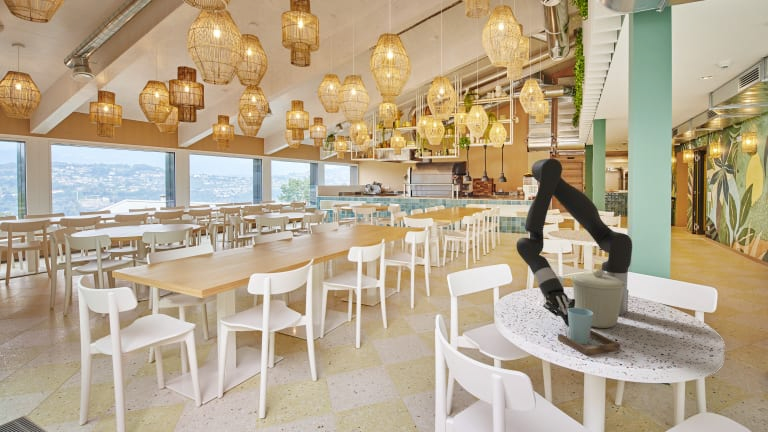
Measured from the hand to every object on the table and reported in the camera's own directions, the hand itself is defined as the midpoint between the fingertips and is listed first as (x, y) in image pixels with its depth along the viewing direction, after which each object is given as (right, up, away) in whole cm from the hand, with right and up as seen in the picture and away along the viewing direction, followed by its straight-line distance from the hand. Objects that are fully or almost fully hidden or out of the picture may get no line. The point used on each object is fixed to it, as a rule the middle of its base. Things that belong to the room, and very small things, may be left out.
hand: (571, 325), depth 129 cm
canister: (+16, -3, +12) cm, 20 cm away
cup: (+1, -4, -3) cm, 6 cm away
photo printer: (+11, -1, +37) cm, 38 cm away
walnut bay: (+2, -4, -6) cm, 7 cm away
